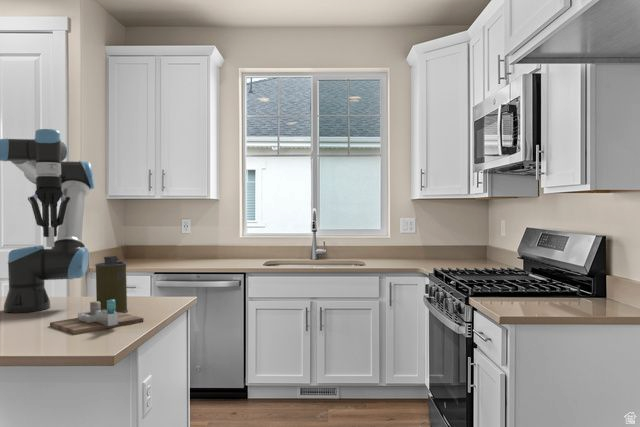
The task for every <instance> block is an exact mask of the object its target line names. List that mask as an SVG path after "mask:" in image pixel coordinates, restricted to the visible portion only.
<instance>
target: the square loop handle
mask: <svg viewBox="0 0 640 427" xmlns="http://www.w3.org/2000/svg"><path fill="white" fill-rule="evenodd" d="M77 318H78V320H80V321H83V322H86V323H92V322H98V323H101V324H104V325H106V326H112V325H117V324H118V313H116V306H115V299H110V300H107V310H106V309H104V310H97V311H96V315H90V311H86V312H80V313H79V312H78V313H77Z"/></svg>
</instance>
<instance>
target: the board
mask: <svg viewBox="0 0 640 427" xmlns="http://www.w3.org/2000/svg"><path fill="white" fill-rule="evenodd" d="M89 304H90V305H89V306H90V308H89V309H90V310H89V312H90V315H96V311H97V310H101V306H100V301H97V300H95V301H91V302H89ZM116 313H118V324H117V325H112V326H106V325H104V324H101V323H98V322H92V323H86V322H83V321H80V320H78V317H73V318H69V319H62V320H61V319H60V320H56V321H50V322H49V326H50V327H51V328H54V329H58V330H61V331H63V332H66V333H70V334H73V335H79V334H83V333H90V332H94V331H95V332H96V331H99V330H107V329H111V328H117V327H121V326H127V325H132V323H133V324H136V323H137V322H139V323H142V322H141V321H145V320H144V317H143V316H142V317H141V316H137V315H133V314H129V313H126V312H125V313H121V312H117V311H116Z"/></svg>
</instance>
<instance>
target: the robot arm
mask: <svg viewBox="0 0 640 427" xmlns="http://www.w3.org/2000/svg"><path fill="white" fill-rule="evenodd" d="M61 140H62V137H61V132H60V131H59V130H57V129H53V128H41V129H40V128H39V129H37V130H35V134H34V139H32V138H30V139H28V138H26V139H24V138H0V161H1V162H10V163H12V164H13V165H14V166H15V167H17V168H18V169H19V170H20V171H21V172H23V174H24V177H25V178H26V179H27V180H28V181H29V182H31V183H32V184H34V185H36V187H35V188H36V189H35V192H34V194H33V195H31V196H28V197H27V201H28V202H29V203H30V205H31V208H32V209H31V210H32V212H33V215H34V219H35V223H36V226H39V227H42V231H43V232H42V236H43V237H44V238H45V239H46V244H45V246H46V248H45V247H44V245H35V246H28V247H22V248H21V247H19V248H17V249H12V250H10V251H9V252H8V256H7V258H8V260H7V267H8V271H7V272H8V292H7V295H6V298H5V301H4V304H3V312H4V311H5V312H4V313H8V312H12V314H15V313H17V314H19V313H30V312H31V313H32V312H38V311H39V312H40V311H44V310H47V309H50V308H51V300H50V298H49V295H48V293H47V290H46V287H45V281H54V280H57V281H58V280H73V279H81V278H83V277H84V276H85V275H86V273H87V271H88V267H89V266H88V265H89V259H90V258H89V256H90V254H89V249H88V248H87V247H86V245H85V244H84V243H83V241H82V235H83V224H84V212H85V204H86V203H85V202H86V196H88V195H89V194H90V190H94V189H95V180H94V179H95V177H94V172H93V167H92V164H91V162H90V161H81V160H78V161H66V160H65V159H67V157H68V154H69V150H68V147H67V145H66V144H65V143H64V142H62V141H61ZM64 160H65V161H64ZM38 200H39V201H40V203H41V211H42V212H41V211H40V207H39V202H38ZM59 201H61V202H60V205H59V208H58V202H59ZM49 211H50V212H49ZM55 237H56V240H55Z"/></svg>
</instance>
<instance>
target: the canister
mask: <svg viewBox="0 0 640 427" xmlns="http://www.w3.org/2000/svg"><path fill="white" fill-rule="evenodd" d="M103 259H104V260H103V261H104V262H99V263H95V282H96V283H95V288H96V289H95V290H96V291H95V292H96V301H100V306H101V310H104V309H106V310H107V300H110V299H115V306H116V311H117V312H121V313H125V314H126V313H128V311H129V310H128V296H127V294H128V290H127V264H128V263H127V262H125V261H121V260H120V259H119V258H118V256H117V255H106V256H104V257H103Z"/></svg>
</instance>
